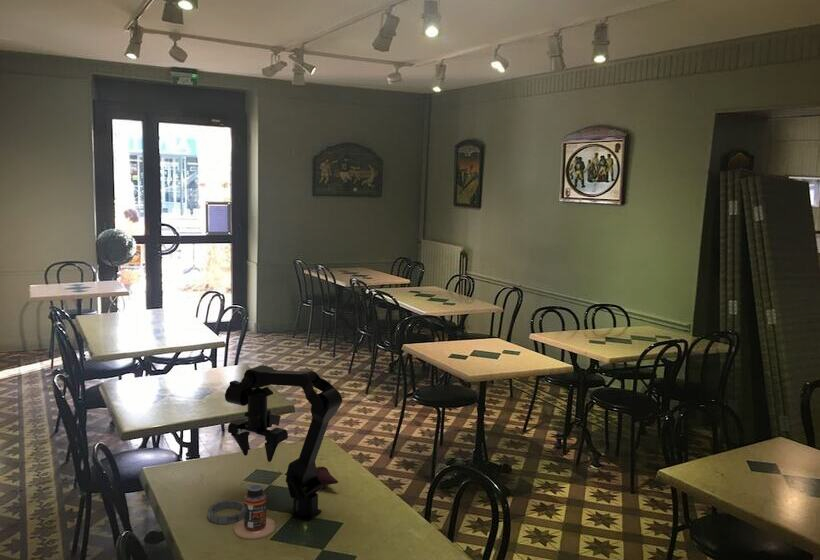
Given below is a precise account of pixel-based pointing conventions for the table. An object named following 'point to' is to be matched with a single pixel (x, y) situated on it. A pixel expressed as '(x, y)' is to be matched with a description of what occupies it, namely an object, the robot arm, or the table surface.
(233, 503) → the cup collar
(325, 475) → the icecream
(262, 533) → the terracotta saucer
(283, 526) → the table surface
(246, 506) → the supplement bottle
